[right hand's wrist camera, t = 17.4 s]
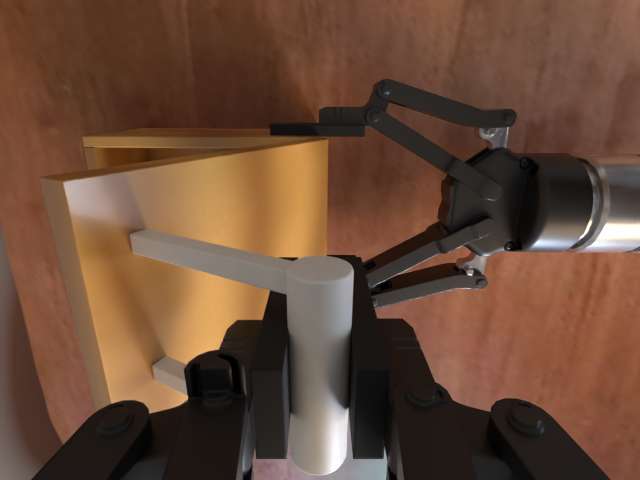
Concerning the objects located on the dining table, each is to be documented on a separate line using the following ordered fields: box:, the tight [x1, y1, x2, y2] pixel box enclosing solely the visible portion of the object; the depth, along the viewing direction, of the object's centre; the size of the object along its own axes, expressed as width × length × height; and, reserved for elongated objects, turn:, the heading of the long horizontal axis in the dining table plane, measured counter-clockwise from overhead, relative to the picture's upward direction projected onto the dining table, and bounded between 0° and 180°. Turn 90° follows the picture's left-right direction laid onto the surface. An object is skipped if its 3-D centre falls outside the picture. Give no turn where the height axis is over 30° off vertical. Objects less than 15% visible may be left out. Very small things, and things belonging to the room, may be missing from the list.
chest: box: [82, 128, 320, 170], centre depth 30 cm, size 16×10×9 cm, turn 90°
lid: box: [39, 138, 354, 475], centre depth 17 cm, size 16×10×9 cm
